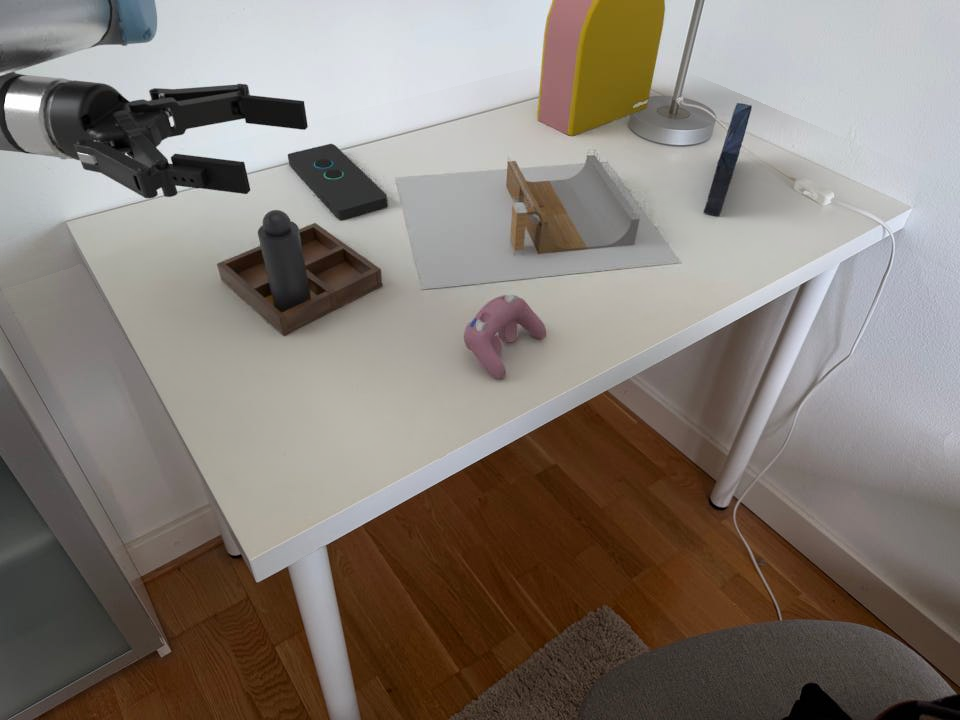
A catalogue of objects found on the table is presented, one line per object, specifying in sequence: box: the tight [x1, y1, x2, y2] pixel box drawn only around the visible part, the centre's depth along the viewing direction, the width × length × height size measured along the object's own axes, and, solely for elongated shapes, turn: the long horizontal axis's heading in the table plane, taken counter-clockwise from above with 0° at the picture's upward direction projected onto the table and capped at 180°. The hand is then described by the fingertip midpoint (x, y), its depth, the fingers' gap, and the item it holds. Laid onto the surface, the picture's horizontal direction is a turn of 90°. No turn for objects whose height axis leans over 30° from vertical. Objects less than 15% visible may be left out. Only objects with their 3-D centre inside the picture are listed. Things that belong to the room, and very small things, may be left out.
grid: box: [216, 222, 383, 337], centre depth 86 cm, size 14×14×3 cm
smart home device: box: [287, 143, 388, 221], centre depth 105 cm, size 8×2×20 cm
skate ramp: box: [394, 149, 682, 290], centre depth 97 cm, size 29×35×8 cm
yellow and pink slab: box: [536, 0, 666, 137], centre depth 118 cm, size 21×9×26 cm, turn 130°
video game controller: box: [463, 294, 547, 380], centre depth 77 cm, size 10×5×7 cm, turn 144°
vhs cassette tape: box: [703, 102, 753, 217], centre depth 104 cm, size 18×3×10 cm, turn 157°
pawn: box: [257, 209, 311, 312], centre depth 78 cm, size 4×4×12 cm
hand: (277, 144), depth 65 cm, fingers open, 13 cm apart
